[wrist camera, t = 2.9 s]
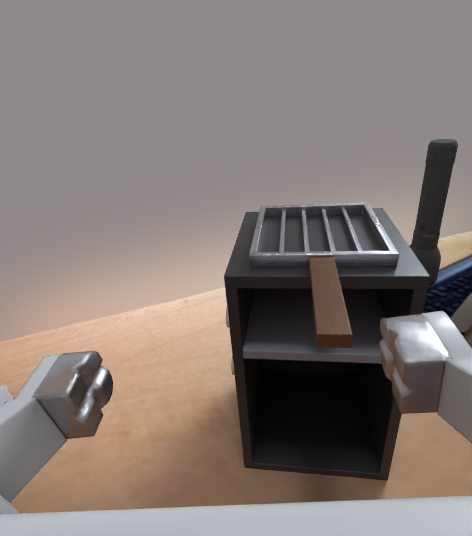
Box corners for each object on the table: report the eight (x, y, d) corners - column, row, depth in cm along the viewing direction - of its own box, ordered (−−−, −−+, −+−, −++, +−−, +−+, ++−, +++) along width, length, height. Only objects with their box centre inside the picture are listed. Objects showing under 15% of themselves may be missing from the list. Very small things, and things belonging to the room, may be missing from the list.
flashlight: (394, 270, 79) (410, 286, 73) (414, 139, 66) (435, 145, 60) (425, 267, 79) (443, 283, 73) (451, 136, 66) (476, 141, 60)
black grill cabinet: (387, 480, 39) (430, 276, 27) (232, 466, 41) (207, 276, 29) (362, 374, 53) (382, 208, 40) (247, 369, 55) (234, 212, 43)
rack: (444, 351, 20) (448, 334, 19) (232, 344, 21) (230, 329, 21) (367, 212, 40) (368, 202, 39) (261, 215, 41) (260, 206, 41)
